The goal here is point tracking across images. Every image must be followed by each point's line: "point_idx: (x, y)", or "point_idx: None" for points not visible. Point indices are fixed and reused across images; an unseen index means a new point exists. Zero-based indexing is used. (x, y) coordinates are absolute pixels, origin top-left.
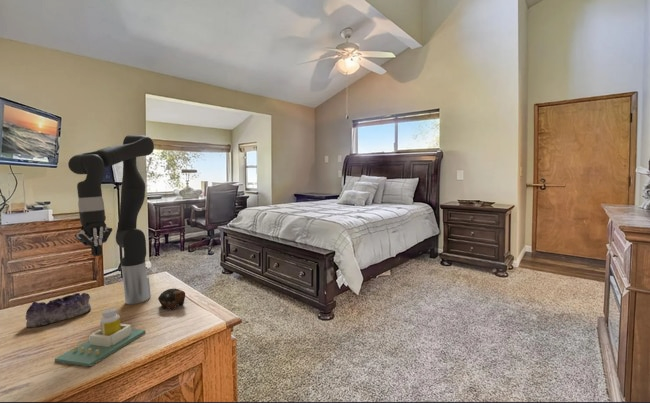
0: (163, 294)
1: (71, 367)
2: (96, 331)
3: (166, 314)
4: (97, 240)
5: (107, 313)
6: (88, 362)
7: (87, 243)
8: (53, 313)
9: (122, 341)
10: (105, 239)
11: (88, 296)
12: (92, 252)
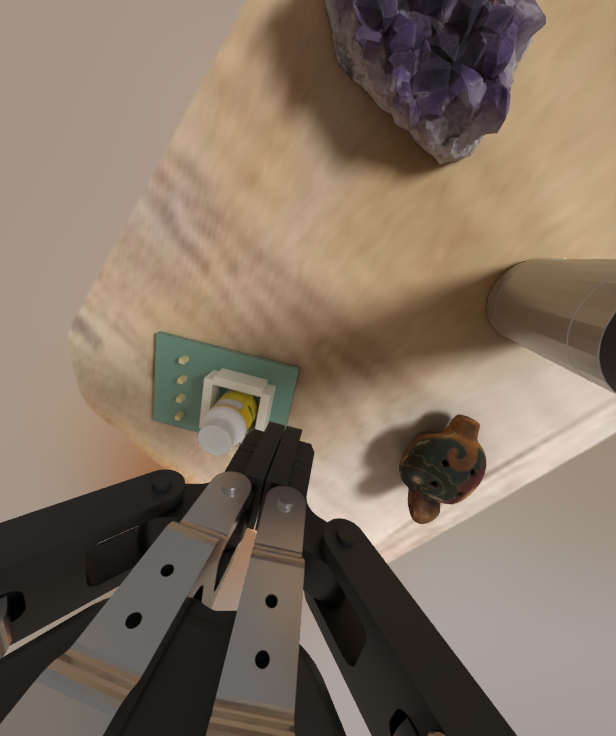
0: (426, 465)
1: (150, 383)
2: (225, 380)
3: (379, 453)
4: (291, 549)
5: (200, 444)
6: (156, 415)
7: (112, 543)
8: (364, 68)
9: None
10: (331, 613)
11: (494, 127)
12: (242, 448)
